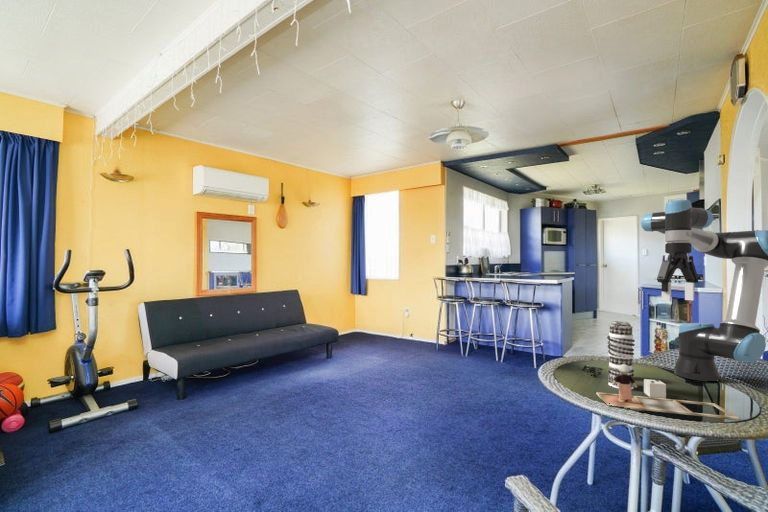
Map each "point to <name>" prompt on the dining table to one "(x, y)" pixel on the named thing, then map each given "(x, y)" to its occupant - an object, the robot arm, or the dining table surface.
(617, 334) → the decorative candle
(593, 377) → the dining table surface
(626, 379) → the grandmother figurine
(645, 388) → the ivory die
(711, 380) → the robot arm
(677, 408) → the wooden flat rectangular frame
